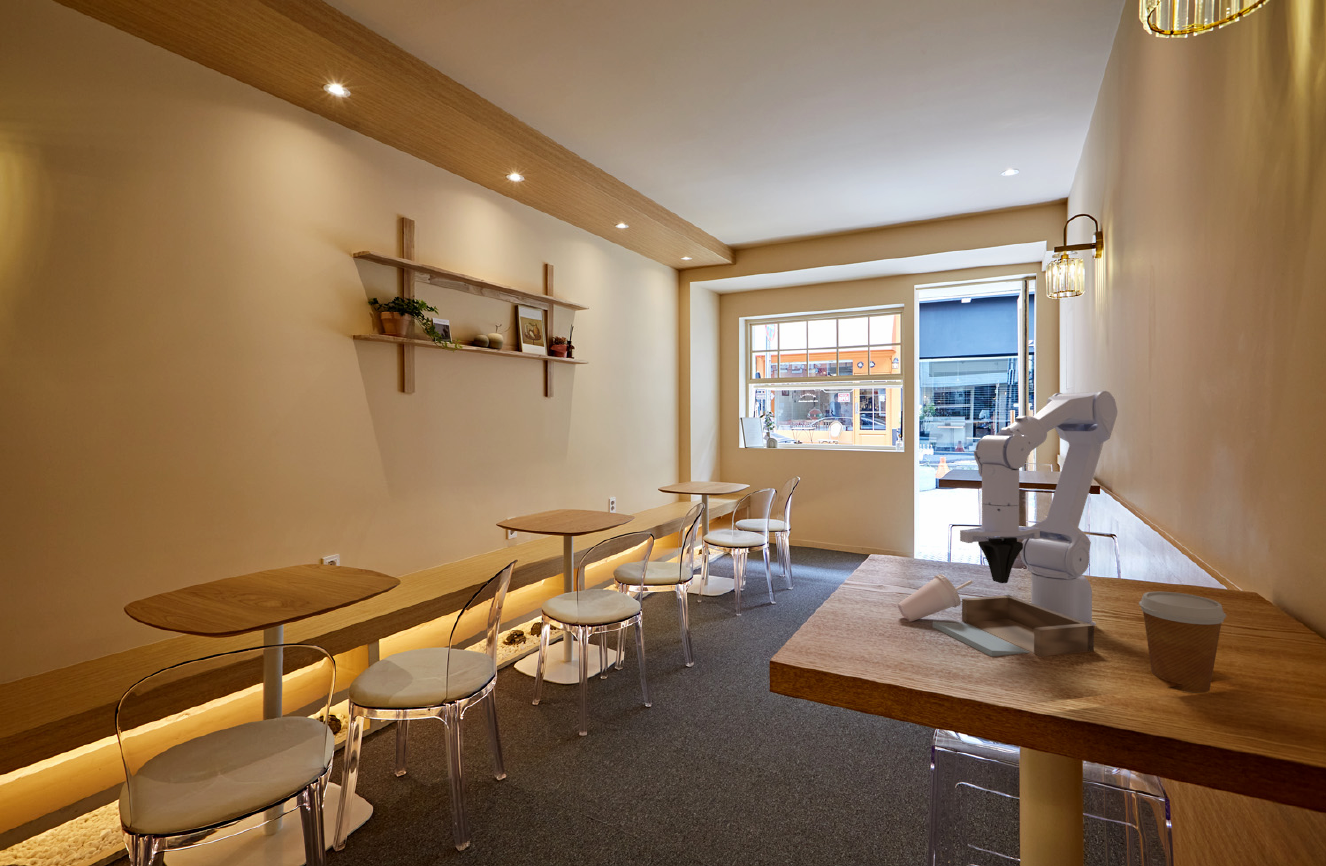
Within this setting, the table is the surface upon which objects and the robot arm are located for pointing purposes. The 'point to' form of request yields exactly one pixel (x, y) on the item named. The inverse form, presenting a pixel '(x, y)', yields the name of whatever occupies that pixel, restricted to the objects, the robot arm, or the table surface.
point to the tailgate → (978, 639)
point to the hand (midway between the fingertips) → (1000, 581)
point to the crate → (1028, 625)
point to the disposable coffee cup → (1182, 638)
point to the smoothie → (931, 598)
